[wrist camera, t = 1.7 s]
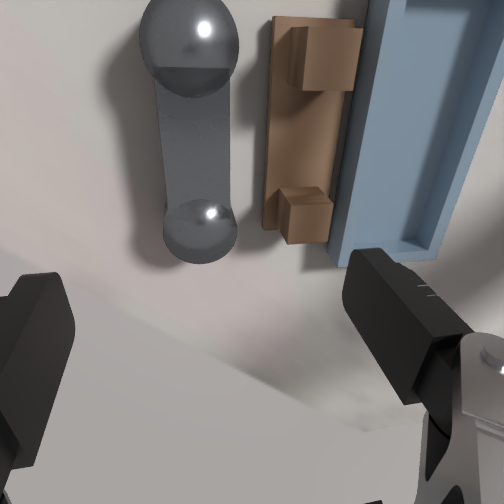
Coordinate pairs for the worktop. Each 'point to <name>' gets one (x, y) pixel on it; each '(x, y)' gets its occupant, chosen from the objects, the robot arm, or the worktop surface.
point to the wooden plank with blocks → (305, 121)
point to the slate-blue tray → (415, 123)
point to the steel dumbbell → (193, 121)
